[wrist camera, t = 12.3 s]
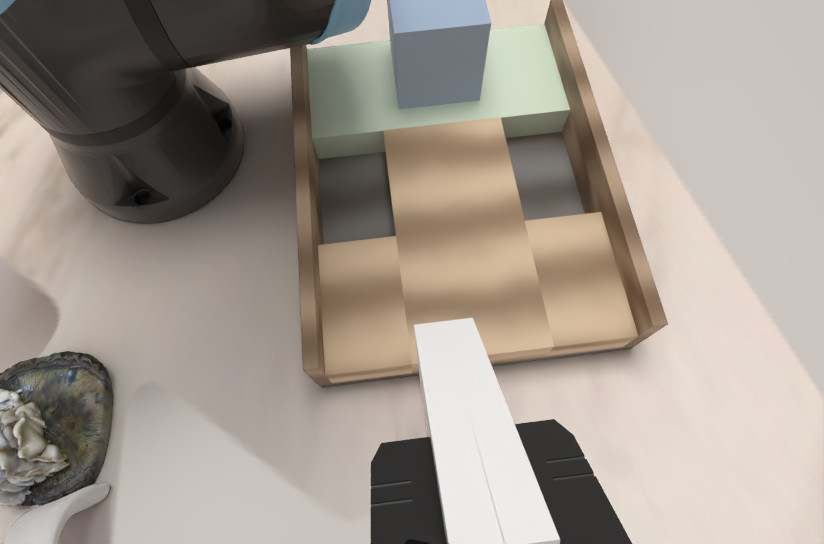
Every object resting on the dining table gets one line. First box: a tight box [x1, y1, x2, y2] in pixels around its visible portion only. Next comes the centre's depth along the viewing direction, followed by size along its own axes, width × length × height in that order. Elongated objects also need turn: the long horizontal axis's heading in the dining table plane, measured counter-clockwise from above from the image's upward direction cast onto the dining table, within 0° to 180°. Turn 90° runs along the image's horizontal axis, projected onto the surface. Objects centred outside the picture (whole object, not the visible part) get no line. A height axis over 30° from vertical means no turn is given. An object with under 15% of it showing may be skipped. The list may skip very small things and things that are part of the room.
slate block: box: [387, 0, 491, 109], centre depth 42 cm, size 7×7×8 cm
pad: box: [307, 24, 570, 159], centre depth 47 cm, size 10×22×3 cm, turn 97°
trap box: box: [290, 0, 668, 387], centre depth 42 cm, size 30×24×6 cm
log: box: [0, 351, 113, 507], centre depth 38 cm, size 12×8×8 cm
